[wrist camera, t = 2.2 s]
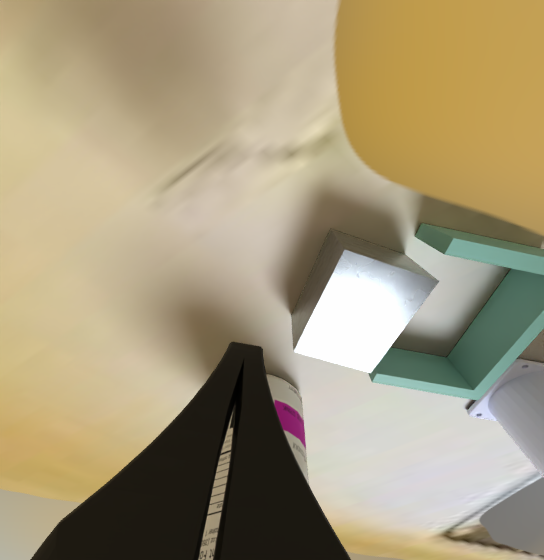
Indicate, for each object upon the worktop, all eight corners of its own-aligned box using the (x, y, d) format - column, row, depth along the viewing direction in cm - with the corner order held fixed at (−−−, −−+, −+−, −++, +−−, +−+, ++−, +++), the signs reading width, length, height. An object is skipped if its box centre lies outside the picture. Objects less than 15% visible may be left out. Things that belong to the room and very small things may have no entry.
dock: (540, 248, 17) (598, 268, 14) (451, 367, 23) (478, 400, 19) (421, 223, 17) (453, 238, 14) (359, 350, 22) (372, 382, 19)
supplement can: (312, 379, 24) (350, 656, 11) (287, 426, 28) (293, 676, 14) (233, 361, 23) (168, 634, 10) (218, 412, 27) (157, 661, 14)
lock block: (404, 253, 18) (439, 281, 14) (354, 332, 22) (370, 373, 18) (329, 228, 17) (344, 249, 13) (291, 314, 21) (293, 351, 17)
